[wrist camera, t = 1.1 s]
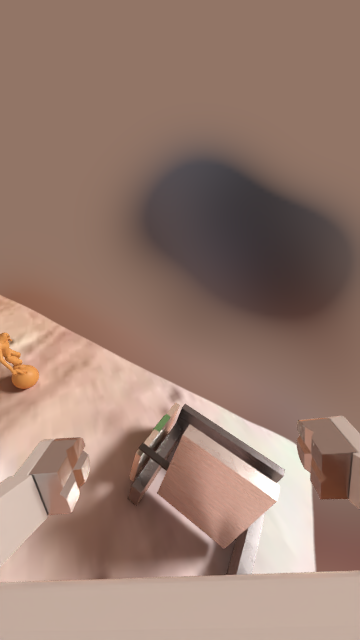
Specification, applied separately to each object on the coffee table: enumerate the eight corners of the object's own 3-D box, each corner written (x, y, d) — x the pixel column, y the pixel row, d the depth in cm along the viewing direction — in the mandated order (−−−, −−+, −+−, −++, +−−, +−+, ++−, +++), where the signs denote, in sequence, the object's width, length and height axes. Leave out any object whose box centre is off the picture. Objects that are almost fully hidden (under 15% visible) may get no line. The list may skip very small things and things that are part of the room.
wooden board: (131, 471, 34) (148, 410, 26) (138, 462, 35) (156, 401, 27) (224, 549, 29) (277, 501, 22) (228, 535, 30) (279, 485, 23)
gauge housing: (118, 490, 33) (125, 460, 29) (165, 426, 43) (175, 397, 38) (235, 593, 28) (265, 576, 24) (260, 494, 37) (284, 469, 33)
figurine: (44, 398, 42) (39, 345, 35) (0, 411, 38) (-14, 355, 32) (35, 365, 47) (29, 313, 40) (-4, 374, 43) (-17, 319, 37)
